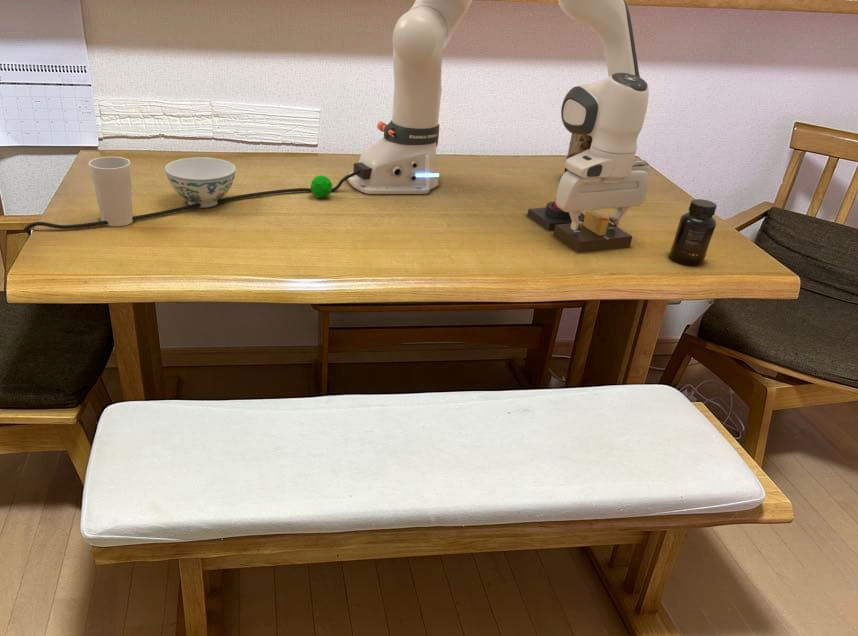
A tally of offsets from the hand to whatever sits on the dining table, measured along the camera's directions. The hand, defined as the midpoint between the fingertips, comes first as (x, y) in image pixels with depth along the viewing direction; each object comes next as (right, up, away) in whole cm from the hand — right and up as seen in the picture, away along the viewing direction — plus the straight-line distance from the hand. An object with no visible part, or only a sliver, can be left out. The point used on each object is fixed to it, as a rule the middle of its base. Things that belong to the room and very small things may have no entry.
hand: (594, 227), depth 159 cm
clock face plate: (0, -3, +2) cm, 3 cm away
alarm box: (-5, +4, +11) cm, 12 cm away
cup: (-100, +1, -3) cm, 100 cm away
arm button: (-5, +6, +9) cm, 12 cm away
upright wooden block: (0, 0, 0) cm, 1 cm away
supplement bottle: (+18, -8, -3) cm, 20 cm away
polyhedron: (-59, +11, +15) cm, 62 cm away
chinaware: (-85, +7, +8) cm, 86 cm away
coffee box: (+7, +20, +36) cm, 42 cm away
